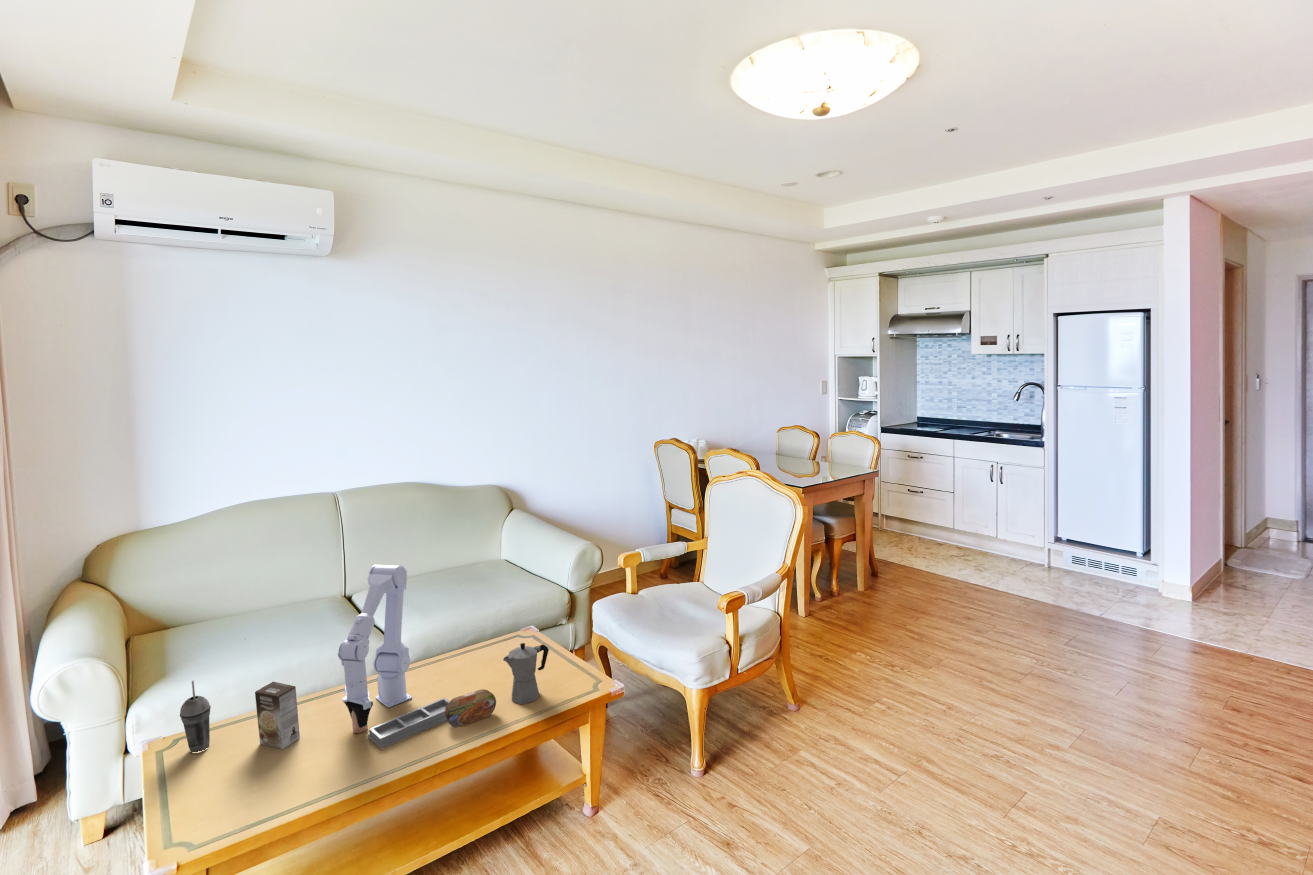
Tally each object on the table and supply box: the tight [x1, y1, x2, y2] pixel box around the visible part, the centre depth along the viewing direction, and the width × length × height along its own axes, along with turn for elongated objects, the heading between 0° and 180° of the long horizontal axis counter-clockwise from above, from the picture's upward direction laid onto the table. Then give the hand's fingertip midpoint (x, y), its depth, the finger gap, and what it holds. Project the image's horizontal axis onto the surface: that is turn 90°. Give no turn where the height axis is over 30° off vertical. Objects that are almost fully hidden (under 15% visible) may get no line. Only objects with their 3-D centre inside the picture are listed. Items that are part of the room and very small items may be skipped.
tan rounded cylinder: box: [351, 711, 369, 734], centre depth 196 cm, size 4×4×7 cm
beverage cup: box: [179, 680, 211, 752], centre depth 188 cm, size 7×7×20 cm
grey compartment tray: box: [367, 697, 451, 750], centre depth 198 cm, size 9×24×3 cm, turn 136°
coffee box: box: [254, 681, 301, 750], centre depth 191 cm, size 9×6×16 cm
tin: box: [445, 688, 497, 728], centre depth 200 cm, size 15×3×8 cm, turn 123°
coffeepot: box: [503, 642, 550, 705], centre depth 213 cm, size 15×9×18 cm, turn 125°
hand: (359, 723), depth 196 cm, fingers closed on tan rounded cylinder, 4 cm apart
